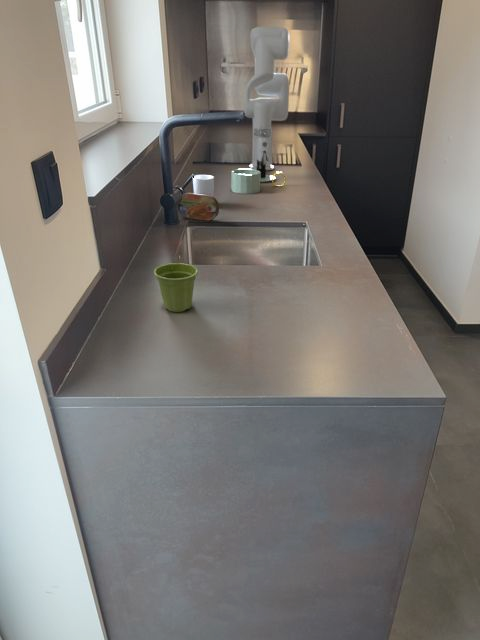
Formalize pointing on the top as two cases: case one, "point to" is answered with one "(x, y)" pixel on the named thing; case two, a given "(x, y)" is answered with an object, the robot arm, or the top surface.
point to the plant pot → (176, 285)
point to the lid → (266, 178)
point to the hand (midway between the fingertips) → (261, 176)
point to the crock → (245, 181)
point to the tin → (198, 206)
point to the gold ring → (279, 174)
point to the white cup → (203, 184)
